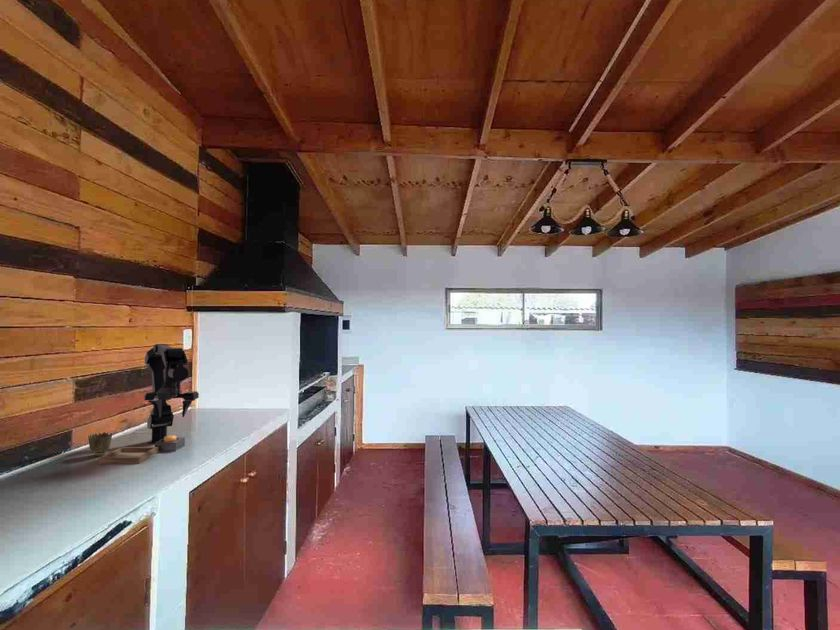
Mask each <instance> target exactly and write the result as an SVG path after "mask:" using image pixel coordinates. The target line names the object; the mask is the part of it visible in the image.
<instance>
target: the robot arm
mask: <svg viewBox="0 0 840 630" xmlns="http://www.w3.org/2000/svg"><path fill="white" fill-rule="evenodd" d="M144 363H145V365H146V369H147V370H148V372H149V373H150V374H151V385H152V391H149V392H146V393H145V394H144V401H147V403H150V404H151V405H152V406H153V407H152V408H151V410H150V413H149V416H148V419H147V421H146V426H147V429H149V430H151V439H150V440H148V441H147V443H148V444H151V443H152V444H155V442H157V441H159V440H161V439H163V438H164V437H165V436H168V427H172V426H173V422H174V417H175V415H174V413H173V412H172V406H171V405H170V404H168V403H167V401H169V400H171V399H184V400H181V401H182V412H181V414H182V418H184V417H185V416H186V414H187V412H188V410H189V407H190V405H191V404H192V403H193V401H196V399H198V398H199V397H200V396H199V395H200V394H199V392H198V391H197V390H196V391H195V390H194V391H192V390H191V391H189V390H188V391H186V392H183V393H182V391H183V390H181V384H182V382H183V381H185V380H186V379H188V377H189V370H188V368H186V367H185V366H184V365H187V364H188V358H187V355H186V353H185V350H184V349H183V348H182V347H171V346H169V345H168V344H166V343H156V344H153V347H152V348H151V349H149V350H147V351H146V354H145V356H144Z"/></svg>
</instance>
